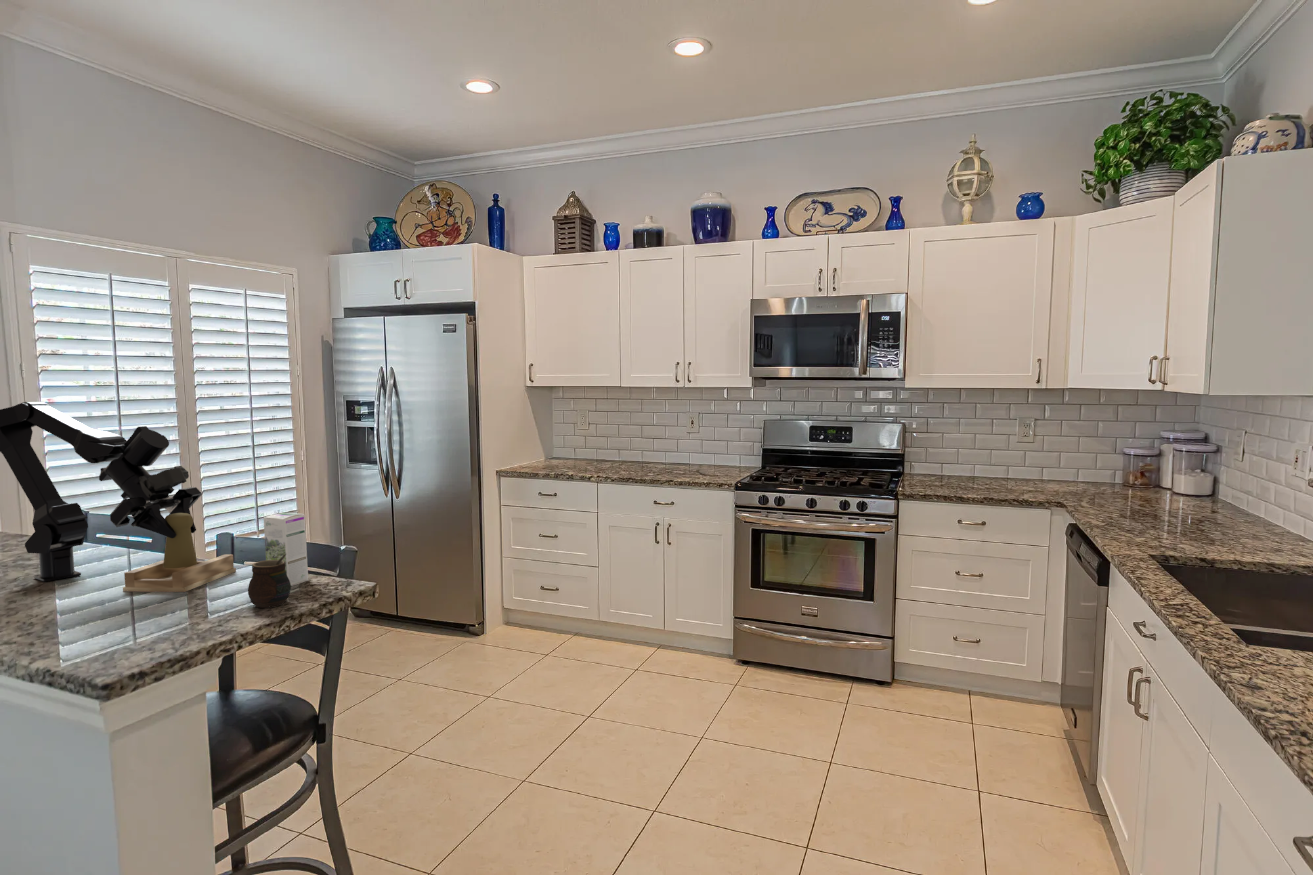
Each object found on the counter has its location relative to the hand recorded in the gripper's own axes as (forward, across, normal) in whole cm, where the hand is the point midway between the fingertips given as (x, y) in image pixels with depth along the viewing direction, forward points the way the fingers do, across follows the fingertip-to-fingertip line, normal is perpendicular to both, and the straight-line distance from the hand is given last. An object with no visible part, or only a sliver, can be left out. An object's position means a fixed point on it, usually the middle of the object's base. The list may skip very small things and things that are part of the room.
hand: (184, 534), depth 151 cm
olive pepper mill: (+4, 0, +6) cm, 7 cm away
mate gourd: (+28, -14, -14) cm, 34 cm away
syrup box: (+23, +1, -9) cm, 25 cm away
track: (+6, 0, +8) cm, 10 cm away
